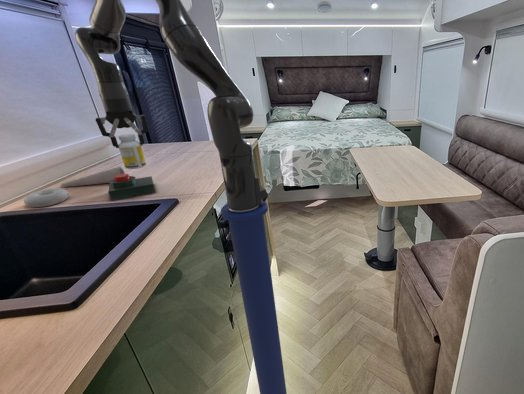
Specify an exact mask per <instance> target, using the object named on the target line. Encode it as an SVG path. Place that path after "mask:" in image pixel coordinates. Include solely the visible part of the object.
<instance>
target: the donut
mask: <svg viewBox="0 0 524 394" xmlns="http://www.w3.org/2000/svg"><path fill="white" fill-rule="evenodd" d="M68 197H69V192H68V190H67V189H64V188H62V187H54V188H53V187H51V188H45V189H41V190H35V191H33V192H30V193H29V194H26V196H24V198H23V203H24V204H25V205H26V206H27V207H31V208H43V207H49V206H55V205H56V204H60V203H62V202H64V201H65V200H67V199H68Z"/></svg>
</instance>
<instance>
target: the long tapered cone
mask: <svg viewBox="0 0 524 394" xmlns="http://www.w3.org/2000/svg"><path fill="white" fill-rule="evenodd" d="M119 174H126V173H125V170H124V168H122V167H121V166H117V167H113V168H110V169H107V170H103V171H100V172H97V173H93V174H89V175H86V176H83V177H80V178H77V179H72V180H71V181H70V180H69V181H65V182H63V183H61V184H60V185H59V186H60V188H69V187H80V186H91V185H92V186H93V185H100V184H103V185H104V184H110V183H109V182H110V180H112V179H114V176H116V175H119Z"/></svg>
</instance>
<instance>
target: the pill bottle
mask: <svg viewBox="0 0 524 394" xmlns="http://www.w3.org/2000/svg"><path fill="white" fill-rule="evenodd" d="M118 140H119V141H120V142H119V143H118V147H119V148H118V150H119V153H120V156H121V159H122V163H123V165H124V168H125V169H127V170H137V169H141V168H144V167H146V166H147V162H146V157H145V155H144V151H143V148H142V147H143V146H142V145H140V141H139V140H136V135H135V134H133V133H132V134H131V133H129V134H126V133H125V134H120V135H118Z"/></svg>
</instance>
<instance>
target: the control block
mask: <svg viewBox="0 0 524 394" xmlns="http://www.w3.org/2000/svg"><path fill="white" fill-rule="evenodd" d="M129 177H130V179H129V180H126V181H121V182H115V179H112V180H110V182H109V183H108V184H109V186H108V191H107V193H108V195H109V198H110V201H112V202H114V201H118V200H123V199H129V198H134V197H140V196H146V195H150V194H151V195H152V194H156V188H155V184H154V180H153V176H152V175H151V176H144V177H138V178H136V176H132V175H129Z"/></svg>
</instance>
